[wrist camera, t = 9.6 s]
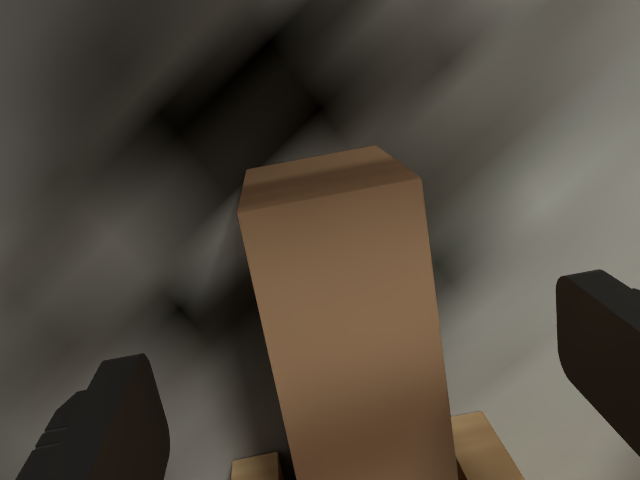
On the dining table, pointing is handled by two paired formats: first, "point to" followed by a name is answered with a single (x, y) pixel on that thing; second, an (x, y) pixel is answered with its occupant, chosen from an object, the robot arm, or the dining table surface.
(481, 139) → the dining table surface
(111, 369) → the robot arm
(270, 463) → the light wood notched block
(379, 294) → the brown rectangular block
